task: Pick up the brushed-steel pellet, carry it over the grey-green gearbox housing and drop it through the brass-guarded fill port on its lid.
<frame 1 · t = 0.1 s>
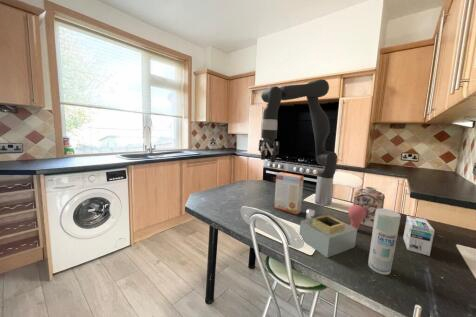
hand: (267, 161, 100), 29 cm above the table, fingers open, 8 cm apart
pellet: (309, 219, 101), on the table
decorative jar: (365, 221, 101), on the table
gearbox: (326, 242, 80), on the table
cracker box: (287, 210, 112), on the table
light bulb box: (415, 247, 80), on the table
light bulb: (354, 229, 92), on the table
spray can: (378, 268, 66), on the table
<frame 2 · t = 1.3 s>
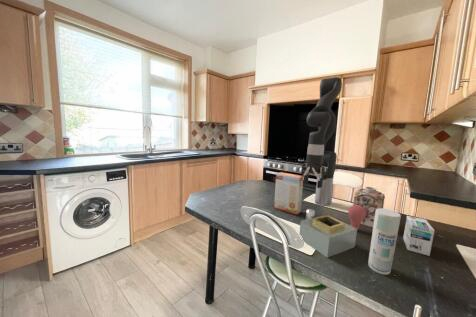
hand: (312, 185, 98), 18 cm above the table, fingers open, 8 cm apart
nothing on the table moved.
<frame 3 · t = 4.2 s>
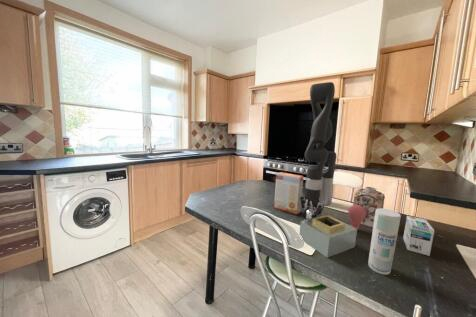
hand: (309, 218, 101), 0 cm above the table, fingers closed on pellet, 4 cm apart
pellet: (309, 219, 101), on the table, touching gripper
everything else where it was.
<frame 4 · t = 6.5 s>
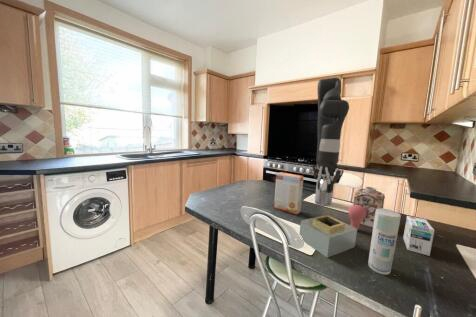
hand: (324, 190, 82), 21 cm above the table, fingers closed on pellet, 4 cm apart
pellet: (324, 191, 82), point 20 cm above the table, touching gripper
everything else where it was.
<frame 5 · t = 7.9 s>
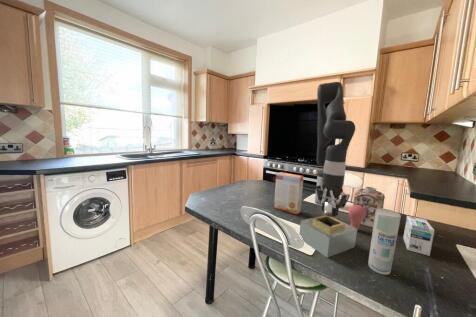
hand: (329, 213, 78), 12 cm above the table, fingers closed on pellet, 4 cm apart
pellet: (328, 214, 78), point 12 cm above the table, touching gripper
everything else where it was.
when the fingers open (12 cm above the table, at t = 8.8 s): pellet drops 9 cm and tips over, resting on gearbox.
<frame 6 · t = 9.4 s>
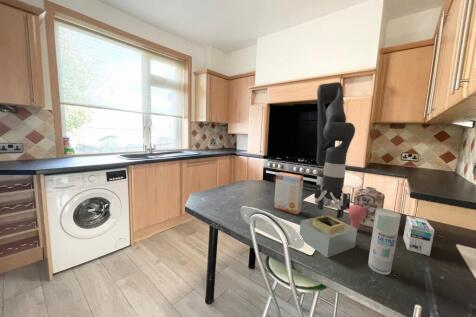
hand: (329, 213, 78), 13 cm above the table, fingers open, 8 cm apart
pellet: (324, 236, 81), point 2 cm above the table, tilted 46°, touching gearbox
everything else where it was.
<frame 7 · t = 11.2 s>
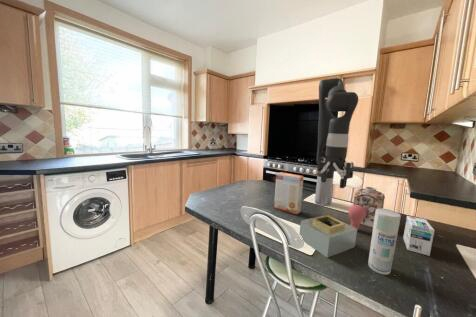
hand: (332, 184, 79), 24 cm above the table, fingers open, 8 cm apart
nothing on the table moved.
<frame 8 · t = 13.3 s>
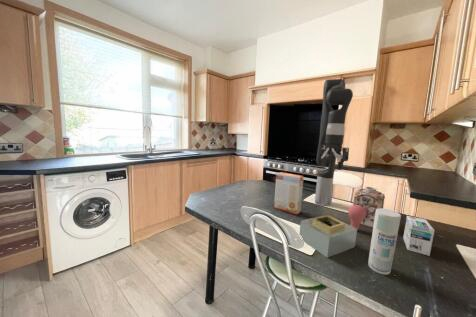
hand: (331, 167, 93), 28 cm above the table, fingers open, 8 cm apart
nothing on the table moved.
at the end: pellet inside the target area on the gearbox (0.8 cm from its centre), point 2.2 cm above the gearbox's base; the gripper is holding nothing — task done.
